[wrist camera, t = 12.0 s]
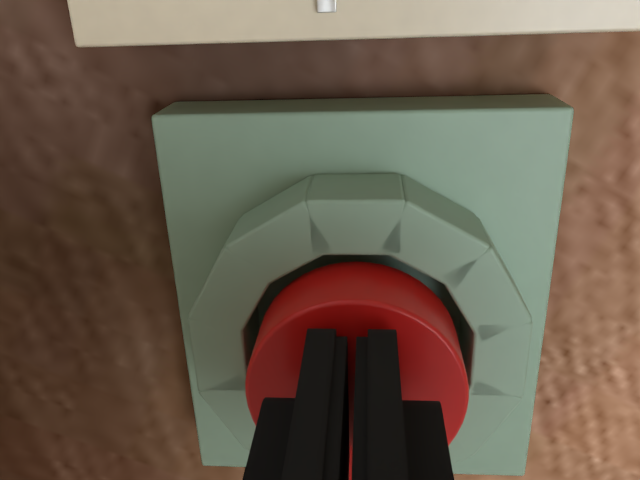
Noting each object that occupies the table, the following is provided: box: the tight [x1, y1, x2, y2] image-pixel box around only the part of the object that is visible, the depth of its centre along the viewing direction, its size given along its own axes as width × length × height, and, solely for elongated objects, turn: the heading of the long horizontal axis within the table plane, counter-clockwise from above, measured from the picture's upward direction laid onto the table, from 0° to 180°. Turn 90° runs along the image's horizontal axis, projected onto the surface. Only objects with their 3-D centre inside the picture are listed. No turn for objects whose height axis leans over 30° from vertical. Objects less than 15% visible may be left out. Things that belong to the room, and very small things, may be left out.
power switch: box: [151, 94, 574, 476], centre depth 14 cm, size 10×9×4 cm
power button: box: [245, 261, 469, 480], centre depth 12 cm, size 4×4×2 cm
